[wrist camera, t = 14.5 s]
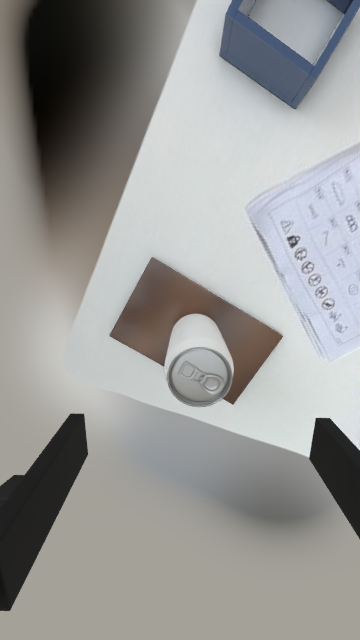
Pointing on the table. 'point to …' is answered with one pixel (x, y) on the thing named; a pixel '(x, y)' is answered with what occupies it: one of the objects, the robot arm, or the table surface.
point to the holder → (276, 51)
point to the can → (198, 362)
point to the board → (183, 299)
